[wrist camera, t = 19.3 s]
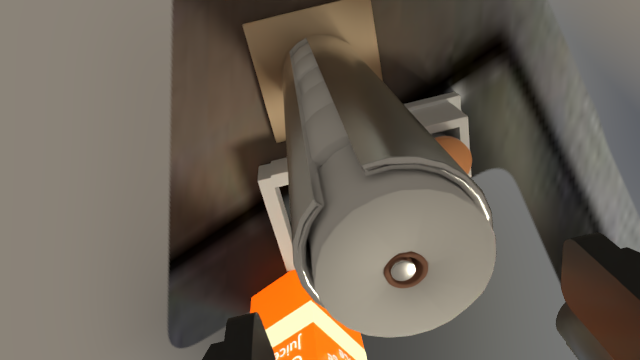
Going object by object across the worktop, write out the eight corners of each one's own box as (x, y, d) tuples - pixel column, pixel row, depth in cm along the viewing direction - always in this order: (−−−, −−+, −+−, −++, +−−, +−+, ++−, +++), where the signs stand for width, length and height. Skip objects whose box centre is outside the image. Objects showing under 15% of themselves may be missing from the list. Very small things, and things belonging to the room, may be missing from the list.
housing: (464, 230, 44) (487, 261, 39) (292, 271, 44) (294, 307, 40) (454, 91, 37) (480, 109, 33) (250, 141, 37) (247, 166, 33)
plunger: (449, 157, 38) (473, 182, 33) (403, 168, 38) (420, 195, 33) (446, 112, 36) (470, 133, 31) (397, 124, 36) (414, 147, 31)
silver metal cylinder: (357, 27, 33) (520, 155, 11) (363, 107, 36) (502, 331, 14) (275, 40, 33) (275, 194, 11) (288, 118, 36) (310, 364, 14)
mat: (386, 113, 37) (388, 115, 37) (276, 140, 38) (276, 142, 37) (368, -7, 33) (369, -7, 32) (242, 23, 33) (242, 24, 32)
